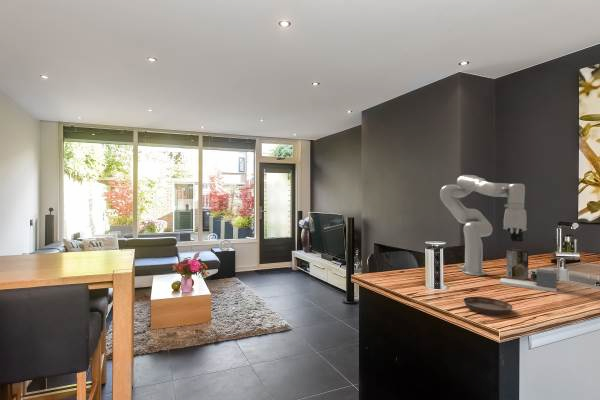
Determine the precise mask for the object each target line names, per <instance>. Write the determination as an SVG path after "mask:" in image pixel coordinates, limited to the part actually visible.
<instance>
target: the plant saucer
mask: <svg viewBox="0 0 600 400" xmlns="http://www.w3.org/2000/svg"><path fill="white" fill-rule="evenodd" d="M462 301H463V303H464V305H465V306H466V307H467V308H468V309H469V310H471V311H473V312H476V313H479V314H484V315H489V316H490V315H491V316H503V315H507V314H508V313H510V311H512V310H513V305H512V304H511V303H509V302H506V301H503V300H500V299H496V298H493V297H485V296H468V297H467V296H466V297H464V298H463V299H462Z"/></svg>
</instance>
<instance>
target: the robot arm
mask: <svg viewBox="0 0 600 400" xmlns="http://www.w3.org/2000/svg"><path fill="white" fill-rule="evenodd" d="M472 192H477V193H479V194H481V195H484V196H489V197H493V198H495V197H496V198H499V197H500V198H507V203H505V204H504V205H503V207H504V208H505V207H506V208H505V211H504V214H503V215H504V217H503V226H502V229H503V230H507V231H508V232H509V233H510V240H511V241H512V242H517V241H518V240H519V239H518V238H519V234H520V233H521V232H526V231H528V228H527V210H526V209H525V197H526V186H525V184H524V183H504V182H503V183H501V182H490V181H487V180H486V179H485V178H483V177H479V176H477V175H473V174H462V175H460V176H459V177H457V179H456V184H446V185H444V186H442V187H441V188H440V191H439V198H440V200H441V202H442V204H443V205H444V206H445V207H446V209H448V211H450V213H451V214H452V215H453V217H454V218H455V219H456V221H457V222H459V223H460V224H464V226H463V231H462V232H463V236H464V264H463V265H461V264H457V265H456V268H457V269H460V270H461V269H462V270H461V273H463V274H465V275H469V276H477V277H478V276H480V277H481V276H486V272H485V271H483V261H484V260H483V257H484V255H483V254H484V253H483V251H484V250H483V249H484V248H483V247H484V244H483V241H482V238H483V237H489V236H491V235H492V233H493V231H494V230H493V225H492V224H491V222H490V221H489V220H488V219H487V218H486V217H485V216H484V215H483V213H482V212H481V211H480V210H478V209H476V208H468V207H466V206H465V205H464V204H463V203H462V202H461V201H460V200H459V199H458V198H465V197H467V195H470V194H471V193H472ZM514 229H515V231H514Z"/></svg>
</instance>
